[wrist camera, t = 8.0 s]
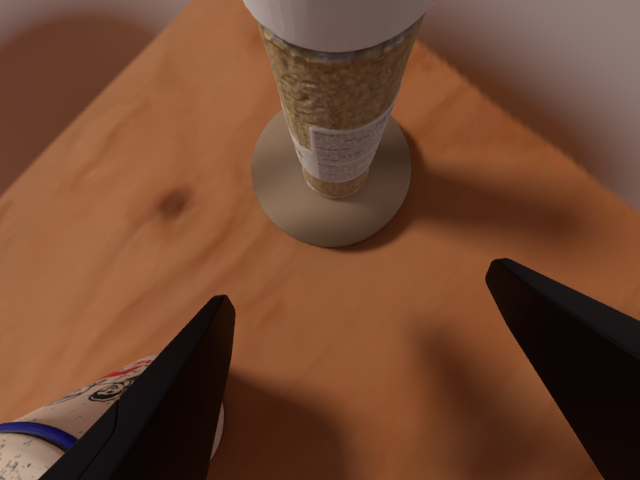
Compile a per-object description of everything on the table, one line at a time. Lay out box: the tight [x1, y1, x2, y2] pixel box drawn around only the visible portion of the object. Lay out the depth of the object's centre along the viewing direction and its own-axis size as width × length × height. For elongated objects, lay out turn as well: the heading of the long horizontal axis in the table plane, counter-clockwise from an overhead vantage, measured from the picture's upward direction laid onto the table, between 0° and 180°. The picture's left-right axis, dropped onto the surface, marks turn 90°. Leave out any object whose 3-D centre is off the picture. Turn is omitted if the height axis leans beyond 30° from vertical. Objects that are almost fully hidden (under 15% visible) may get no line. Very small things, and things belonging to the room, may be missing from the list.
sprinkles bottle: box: [243, 0, 435, 199], centre depth 10 cm, size 5×5×14 cm
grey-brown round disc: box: [252, 109, 412, 248], centre depth 17 cm, size 11×11×2 cm
